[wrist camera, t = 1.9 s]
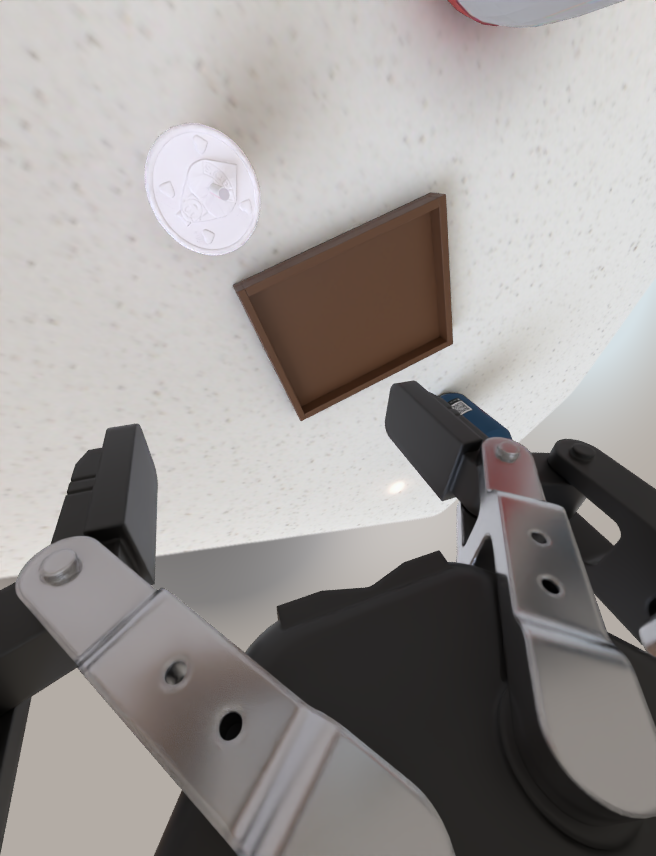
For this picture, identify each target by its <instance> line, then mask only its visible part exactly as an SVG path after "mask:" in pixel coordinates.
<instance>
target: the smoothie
mask: <svg viewBox="0 0 656 856" xmlns="http://www.w3.org/2000/svg"><path fill="white" fill-rule="evenodd" d="M145 188H146V192H147V196H148V200H149V204H150V206H151V208H152V210H153V212H154V214H155V216H156V218H157V220H158V221H159V222H160V224H161V225H162V226H163V228H164V229H165V230H166V231H167V233H168V234H169V235H170V236H171V237H172V238H173V239H175V240H176V241H177V242H178V243H180V244H181V245H183V246H184V247H186V248H188V249H190V250H192V251H194V252H197V253H200V254H205V255H223V254H227V253H230V252H233V251H235V250H236V249H238V248H240V247H241V246H242V245H243V244H244V243H245V242H246V241H247V240H248V239H249V238H250V236H251V235H252V233H253V232H254V230H255V228H256V225H257V222H258V219H259V215H260V207H261V197H260V189H259V184H258V180H257V177H256V174H255V171H254V169H253V167H252V165H251V163H250V161H249V159H248V158H247V156H246V155H245V153H244V152H243V151H242V149H241V148H240V147H239V146H238V145H237V144H236V143H235V142H234V141H233V140H232V139H231V138H230V137H228V136H227V135H225V134H224V133H223V132H221V131H219V130H217V129H215V128H213V127H210V126H207V125H203V124H197V123H184V124H181V125H177V126H173V127H171V128H169V129H168V130H167V131H165V132H164V133H162V134H161V135H160V136H158V138H157V139H156V141H155V142H154V144H153V146H152V147H151V149H150V150H149V154H148V157H147V161H146V165H145Z"/></svg>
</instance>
